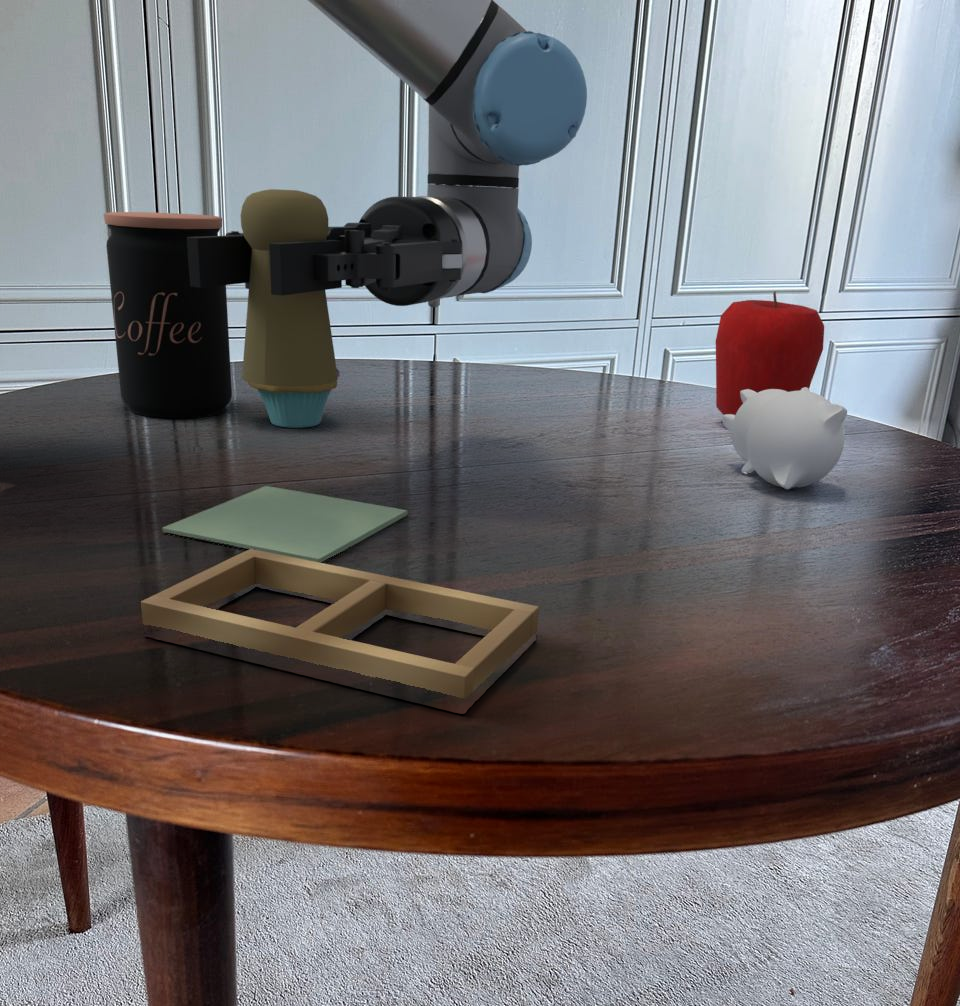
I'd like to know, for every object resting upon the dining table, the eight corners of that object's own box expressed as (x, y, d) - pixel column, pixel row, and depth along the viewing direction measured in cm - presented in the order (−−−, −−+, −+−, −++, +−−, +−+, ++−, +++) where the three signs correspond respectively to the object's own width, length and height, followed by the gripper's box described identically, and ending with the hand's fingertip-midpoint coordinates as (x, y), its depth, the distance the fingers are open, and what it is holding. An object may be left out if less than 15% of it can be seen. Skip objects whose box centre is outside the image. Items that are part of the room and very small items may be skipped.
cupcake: (352, 419, 102) (351, 292, 97) (317, 436, 95) (314, 300, 90) (273, 410, 104) (268, 286, 99) (233, 427, 96) (225, 293, 92)
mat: (162, 533, 68) (161, 527, 67) (266, 490, 78) (266, 485, 78) (319, 564, 63) (318, 558, 63) (407, 515, 74) (407, 510, 73)
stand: (143, 637, 52) (140, 601, 52) (251, 580, 61) (250, 548, 60) (463, 716, 46) (465, 676, 45) (536, 640, 54) (539, 605, 54)
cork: (295, 366, 69) (289, 189, 65) (357, 379, 66) (356, 193, 61) (222, 376, 65) (210, 186, 60) (285, 390, 62) (277, 190, 57)
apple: (702, 431, 104) (721, 291, 98) (706, 412, 113) (724, 283, 108) (810, 442, 102) (835, 299, 96) (805, 421, 111) (828, 290, 105)
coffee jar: (99, 412, 100) (78, 212, 92) (161, 394, 109) (146, 211, 102) (197, 424, 97) (183, 219, 90) (252, 404, 106) (243, 217, 99)
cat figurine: (754, 354, 89) (817, 374, 78) (838, 421, 93) (910, 449, 82) (692, 438, 91) (745, 469, 80) (777, 501, 95) (839, 538, 84)
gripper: (525, 312, 76) (373, 349, 56) (318, 293, 82) (115, 320, 63) (532, 202, 73) (373, 201, 53) (316, 191, 79) (102, 186, 60)
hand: (234, 266), depth 58 cm, fingers closed on cork, 5 cm apart
